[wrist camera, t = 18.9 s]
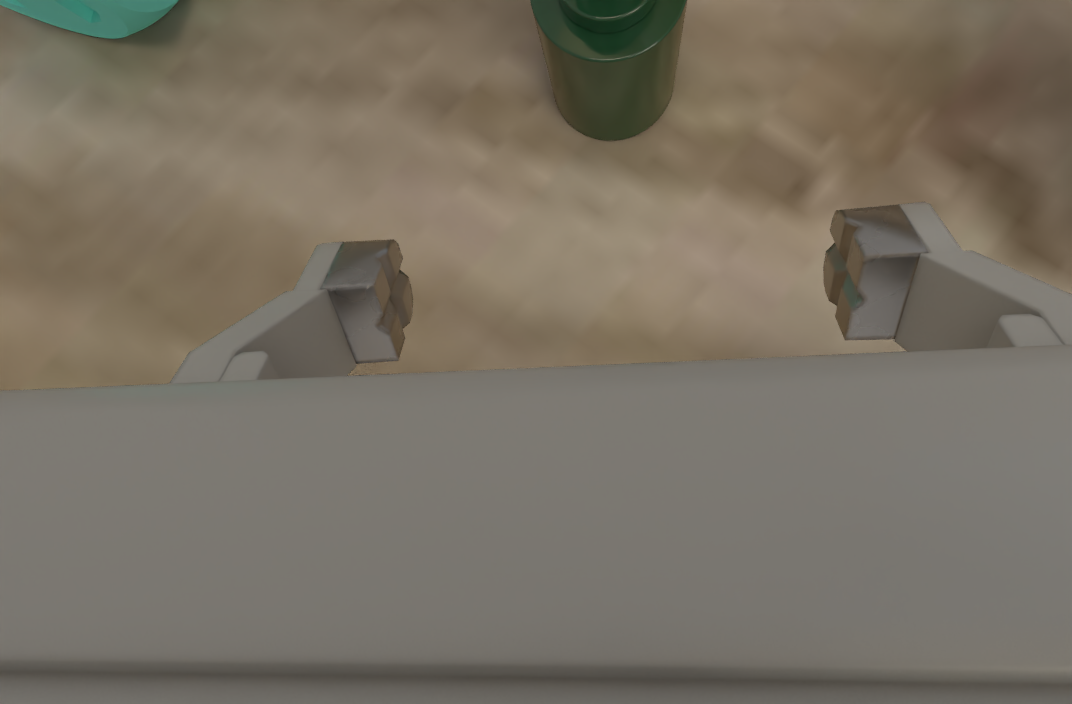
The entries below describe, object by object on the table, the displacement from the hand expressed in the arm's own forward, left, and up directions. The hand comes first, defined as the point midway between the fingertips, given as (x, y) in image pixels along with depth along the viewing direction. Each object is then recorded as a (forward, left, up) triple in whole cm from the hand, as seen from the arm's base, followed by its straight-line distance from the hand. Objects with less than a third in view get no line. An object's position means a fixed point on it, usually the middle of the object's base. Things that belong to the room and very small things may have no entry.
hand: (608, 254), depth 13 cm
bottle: (-4, +8, -13) cm, 16 cm away
